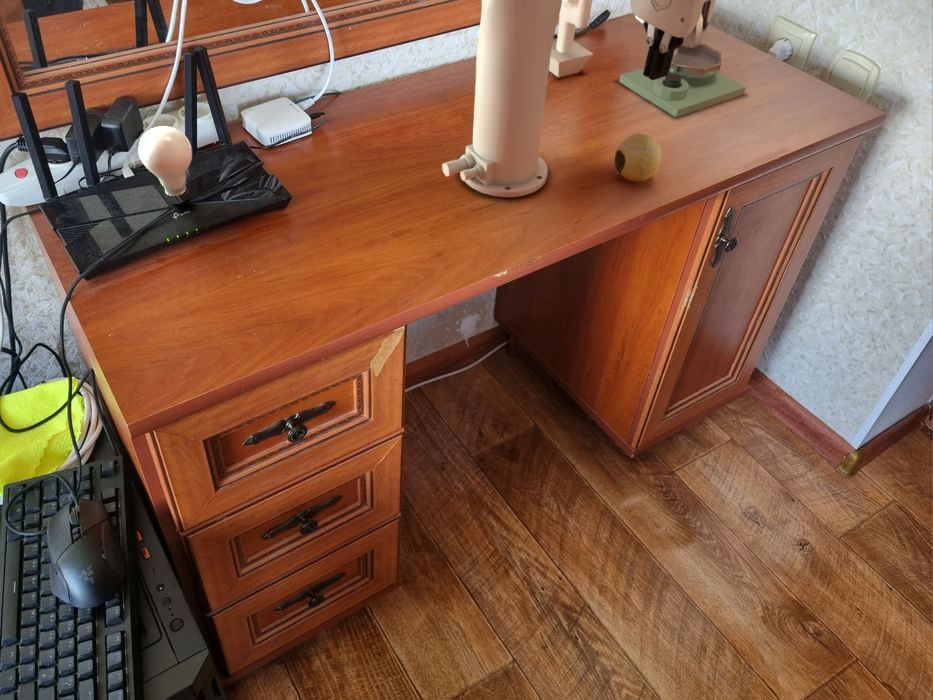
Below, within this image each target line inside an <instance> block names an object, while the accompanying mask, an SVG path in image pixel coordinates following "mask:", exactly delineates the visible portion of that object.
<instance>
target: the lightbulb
mask: <svg viewBox="0 0 933 700" xmlns="http://www.w3.org/2000/svg"><path fill="white" fill-rule="evenodd" d="M138 155H139V159H140V160H141V163H142V164H143V165H144V167H145V168H146V169H147V170H148V171H149V172H150V173H152V174H153V175H154V176H155V177H156V178H157V179H158V181H159V182H160V185H161V186H162V187H163V189H164V191H165V194H167V195H169V196H179V195H182V194H183V193H184V192H185V191H186V189H187V186H186V181H187V171H188V169H189V168H190V165H191V163H192V159H193V149H192V145H191V143H190V140H189V139H188V137H187V136H186V135H185V134H184V133H183V132H181V131H180V130H179V129H177V128H175V127H172V126H168V125H160V126H159V125H158V126H155V127H152V128H150V129H149V130H147V131H146V132H145V133H144V134H143V135H142V137H141V139H140V140H139V144H138Z"/></svg>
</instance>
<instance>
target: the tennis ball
mask: <svg viewBox="0 0 933 700" xmlns="http://www.w3.org/2000/svg"><path fill="white" fill-rule="evenodd" d="M613 161H614V166H615V170H616V174H617V175H621V176H622V178H624V179H626V180H628V181H631V182H638V183H640V182H643V181H647V180H648V179H650V178H652V177H653V176H654V175H656V173H657V171H658V170H659V168H660V165H661V162H662V150H661V147H660V145H659V143H658V142H657V141H656V140H655V139H654V138H653V137H651V136H649V135H647V134H644V133H633V134H632V135H629V136H627V137H626V138H624V139H623V140H622V141H620V143H619V145H618V146H617V147H616V149H615V152H614V160H613Z"/></svg>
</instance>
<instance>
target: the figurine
mask: <svg viewBox="0 0 933 700" xmlns="http://www.w3.org/2000/svg"><path fill="white" fill-rule="evenodd" d="M592 5H593V0H562V4H561V9H560V14H559V17H558V21H557V25H556V27H558V29H557V30H558V31H557V39H556V40H553V43H552V50H551V57H550V65H549V72H550V73H552V74H553V75H554V76H556V77H557V78H562V77H566V76H570V75H575V74H579V73H580V72H581V70H582V69H583V68H584V66H585V65H586V64H587V63H588V62H589V60H590V59H591V58H592V56H593V55H594V53H593V52H591V51H589V49H586V48H585V46H583V45H581V44H579V43H578V42H577V41H575V40H574V39H575V32H576V28H578V29H585V28H586V27H587V26H588V24H589V22H590V18H591V13H592Z"/></svg>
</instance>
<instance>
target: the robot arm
mask: <svg viewBox="0 0 933 700" xmlns="http://www.w3.org/2000/svg"><path fill="white" fill-rule="evenodd" d="M716 1H717V0H630V10H631V13H632V14H633V15H634V18H635V19H636V20H637V21H638V22H639V23H640V24H641V25H643V27H644V30H645V33H646V39H645V41H646V44H647V46H648V51H647V55H646V59H645V63H644V67H645V68H644V67H643V68H644V72H643V75H644V76H646V77H649V79H651V80H655V79H659V78H662V77H665V76H667V74H668V72H669V70H670V66H671V62H672V58H673V55H674V51H675V49H679V48H680V47H681V46H686V47H691V48H693V47H696V46H699V45H700V44H701V43H702V39H703V38H702V37H703V33H704V32H705V31H707V28H708V26H709V25H710V22H711V19H712V16H713V14H714V13H713V12H714V8H715V5H716ZM561 4H562V0H481V13H480V14H481V15H480V21H479V22H480V23H479V28H478V36H477V44H476V45H477V47H476V61H475V63H476V64H475V86H474V108H473V125H472V126H473V127H472V144H468V145H466V146H465V154H462V155H461V156H460V158H458V159H452V160H449V161H446V162H443V163H442V164H441V170H442V172H443V174H444V175H445V177H451V176H454V175H457V174H459V177H460V179H461V181H462V182H465V183H466V185H468V186H469V187H470V188H471V189H473V190H476V191H477V192H479V193H481V194H484V195H488V196H492V197H498V198H515V197H516V198H518V197H522V196H523V197H524V196H528V195H530V194H532V193H534V192H535V193H536V191H539V189H541V188H542V187H543V186H544V185H545V183H546V182H547V180H548V174H549V173H548V171H549V169H548V165H547V163H546V162H545V161H546V160H544V159H543V158H542V156H540V149H541V140H542V133H543V125H544V115H545V108H546V99H547V92H548V83H549V76H550V75H549V74H550V73H549V72H550V71H549V65H550V57H551V50H552V43H553V41H554V39H555V34H556V29H557V26H556V25H557V21H558V17H559V14H560V9H561Z"/></svg>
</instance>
